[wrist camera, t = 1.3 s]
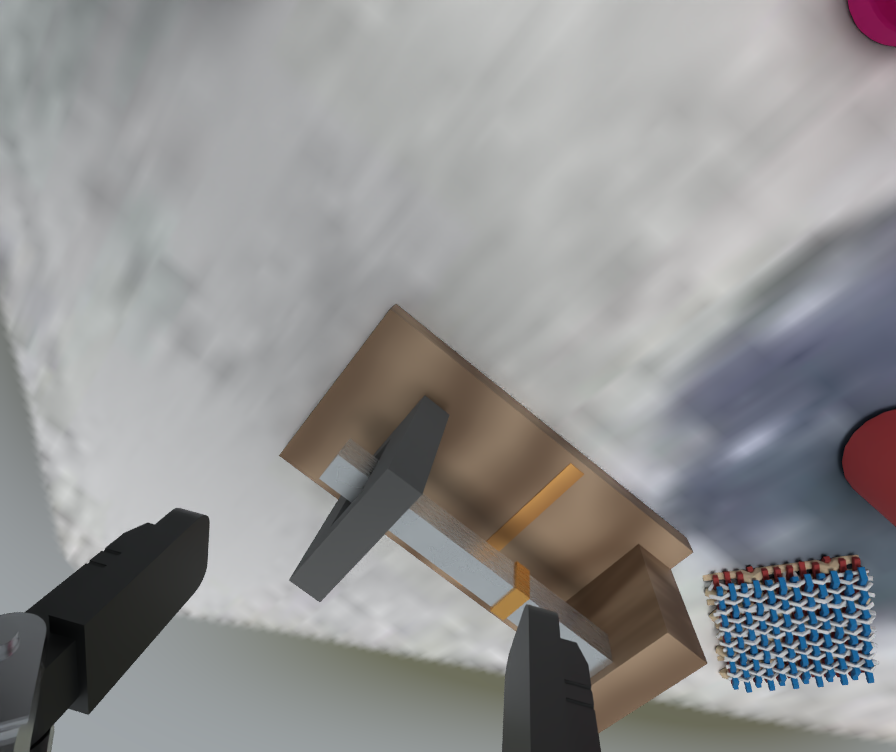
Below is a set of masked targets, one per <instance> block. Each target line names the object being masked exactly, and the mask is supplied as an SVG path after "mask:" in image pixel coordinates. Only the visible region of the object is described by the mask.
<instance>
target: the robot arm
mask: <svg viewBox="0 0 896 752" xmlns="http://www.w3.org/2000/svg"><path fill="white" fill-rule="evenodd" d="M209 524H210V523H209V518H208V516H206V515H203V514H199V513H196V512H192V511H188V510H185V509H181V508H175V509H173V510H172V511H171V512H169V513H168V514H167V515H166V516H165V517H163V518H162V519H161V520H160V521H159V522H158V523H156V524H155V525H154V524H151V523H146V524H143V525H141V526H139V527H137V528H134V529H132V530H130V531H128V532H125V533H123V534H122V535H121V536H120V537H118V538H117V539H116V540H115V541H113V542H112V543H111V544H110V545H108V546H107V547H106V548H105V550H104V551H101V552H100V553H98V554H97V555H96V556H95V557H93V558H92V559H91V560H90V562H89V563H88V564H85V565H83V566H82V567H81V568H80V569H78V570H77V571H76V572H75V573H73V574H72V575H71V576H70V577H69V578H67V579H66V580H65V581H63V582H62V583H61V584H60V585H59V586H57V587H56V588H55V589H53V590H52V591H51V592H50V593H48V594H47V595H46V596H45V597H43V598H42V599H41V600H40V601H38V602H37V603H36V604H35V605H33V606H32V607H31V608H30V609H28V610H27V611H26V612H24V613H23V612H16V613H15V612H14V613H7V614H3V615H0V752H51V750H52V743H53V737H54V723H55V722H56V721H57V720H58V719H59V718H60V717H61V716H62V715H63V713H64V712H65V711H66V710H67V709H72V710H75V711H79V712H81V713H85V714H90V713H91V711H92V710H93V709H94V708H95V707H96V706H97V705H98V703H99V702H100V701H101V700H102V699H103V698H104V696H105V695H106V694H107V693H108V692H109V690H111V688H112V687H113V686H114V685H115V684H116V683H117V681H118V680H119V679H120V678H121V677H122V676H123V675H124V673H125V672H126V671H127V670H128V669H129V668H130V666H131V665H132V664H133V663H134V662H135V661H136V660H137V658H138V657H139V656H140V655H141V654H142V653H143V652H144V650H145V649H146V648H147V647H148V646H149V644H150V643H151V642H152V641H153V640H154V639H155V638H156V636H157V635H158V634H159V633H160V632H161V631H162V630H163V628H164V627H165V626H166V625H167V624H168V623H169V621H170V620H171V619H172V618H173V617H174V616H175V615H176V613H177V612H178V611H179V610H180V609H181V608H182V607H183V605H184V604H185V603H186V602H187V601H188V600H189V598H190V597H191V596H192V595H193V594H194V593H195V591H196V590H197V589H198V587H199V586H200V584H201V582H202V580H203V578H204V575H205V572H206V569H207V560H208V542H209ZM591 687H592V686H591V680H590V673H589V666H588V663H587V661H586V659H585V657H584V655H583V654H582V652H581V650H580V648H579V646H578V644H577V642H573V641H569V640H566V639H562V638H560V626H559V616H558V613H557V612H554V611H550V610H547V609H543V608H539V607H536V606H532V605H528V604H526V605H525V607H524V610H523V612H522V616H521V619H520V622H519V625H518V628H517V631H516V634H515V637H514V640H513V643H512V646H511V649H510V653H509V657H508V661H507V667H506V674H505V692H504V718H503V743H502V752H601V748H600V742H599V735H598V728H597V721H596V714H595V710H594V700H593V693H592V691H591Z"/></svg>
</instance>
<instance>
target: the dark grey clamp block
mask: <svg viewBox="0 0 896 752" xmlns="http://www.w3.org/2000/svg"><path fill="white" fill-rule="evenodd" d="M448 418H449V414H448V413H447V412H446V411H444V410H443V409H442V408H440V407H439V406H438V405H437V404H435V403H434V402H433V401H432V400H430V399H429V398H428V397H426V396H425V395H424V396H423V398H422V399H421V400H420V401H419V402H418V403H417V405H416V406H415V407H414V408H413V409H412V410H411V412H410V413H409V414H408V415H407V416H406V417H405V419H404V420H403V421H402V422H401V423H400V424H399V426H398V427H397V428H396V429H395V430H394V431H393V433H392V434H391V435H390V436H389V437H388V438H387V440H386V441H385V442H384V443H383V444H382V445H381V447H380V448H379V449H378V450H377V451H376V452H375V454H374V455H373V456H374V457H375V458H377V459H378V460H379V461H378V463H377V465H376V466H375V468H374V470H373V472H372V474H371V475H370V477H369V479H368V481H367V483H366V485H365V486H364V488H363V490H362V492H361V493H360V494H359V495H358V496H357V497H356V499H355V500H354V501H353V502H352V503H351V502H350V501H348V500H347V499H346V498H344V497H343V496H342V495H341V496H340V498H339V499H338V501H337V503H336V504H335V506H334V507H333V509H332V511H331V512H330V514H329V516H328V517H327V519H326V521H325V522H324V524H323V525H322V527H321V529H320V530H319V532H318V534H317V535H316V537H315V539H314V540H313V542H312V543H311V545H310V547H309V548H308V550H307V552H306V553H305V555H304V556H303V558H302V560H301V561H300V563H299V565H298V566H297V568H296V570H295V571H294V573H293V574H292V576H291V578H290V579H289V581H291V582H292V583H294V584H295V585H296V586H298V587H299V588H301V589H302V590H303V591H305V592H306V593H308V594H309V595H310V596H312V597H313V598H315V599H316V600H317V601H319V602H321V601H322V600H323V599H324V598H325V597H326V595H327V594H328V593H329V592H330V591H331V590H332V589H333V588H334V587H335V586H336V585H337V584H338V583H339V582H340V581H341V580H342V579H343V578H344V576H345V575H346V574H347V573H348V572H349V571H350V570H351V569H352V568H353V567H354V566H355V565H356V564H357V563H358V562H359V561H360V560H361V559H362V558H363V556H364V555H365V554H366V553H367V552H368V551H369V550H370V549H371V548H372V547H373V546H374V545H375V544H376V543H377V542H378V541H379V540H380V539H381V538H382V536H383V535H384V534H385V533H386V532H387V531H388V530H389V529H390V528H391V527H392V526H393V525H394V524H395V523H396V522H397V521H398V520H399V519H400V518H401V516H402V515H403V514H404V513H405V512H406V511H407V510H408V509H409V508H410V507H411V506H412V505H413V504H414V503H415V502H416V501H417V500H418V499H419V498H420V496H421V495H422V494H423V491H424V488H425V485H426V482H427V479H428V477H429V474H430V471H431V468H432V465H433V462H434V459H435V456H436V453H437V450H438V447H439V444H440V441H441V439H442V436H443V433H444V430H445V427H446V424H447V421H448Z"/></svg>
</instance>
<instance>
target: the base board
mask: <svg viewBox="0 0 896 752" xmlns="http://www.w3.org/2000/svg"><path fill="white" fill-rule="evenodd" d="M424 395H425V396H426V397H428V398H429V399H430V400H432V401H433V402H434V403H435V404H437V405H438V406H439V407H440V408H442V409H443V410H444V411H446V412H447V413H448V414H449V418H448V421H447V424H446V427H445V430H444V433H443V436H442V439H441V441H440V444H439V447H438V450H437V453H436V456H435V459H434V462H433V465H432V468H431V471H430V474H429V477H428V479H427V482H426V485H425V488H424V491H423V494H424V495H425V496H427V497H428V498H429V499H431V500H432V501H433V502H435V503H436V504H437V505H439V506H440V507H441V508H442V509H444V510H445V511H446V512H448V513H449V514H450V515H452V516H453V517H454V518H456V519H457V520H458V521H460V522H461V523H462V524H464V525H465V526H466V527H467V528H469V529H470V530H471V531H473V532H474V533H475V534H477V535H478V536H479V537H481V538H482V539H483V540H485V541H486V542H487V543H488V544H490V545H491V546H492V547H494V548H495V549H496V550H498V551H499V552H500V553H502V554H503V555H504V556H506V557H507V558H508V559H510V560H511V561H512V562H513V563H515V562H516V561H518V562H519V563H521V564H522V565H523V566H524V567H526V568H527V569H528V570H530V575H531V576H532V577H533V578H534V579H536V580H537V581H538V582H540V583H541V584H542V585H544V586H545V587H546V588H548V589H549V590H550V591H552V592H553V593H554V594H556V595H557V596H558V597H559V598H561V599H562V600H563V601H565V602H566V603H567V604H569V605H570V606H571V607H573V608H574V609H575V610H577V611H578V612H579V613H580V614H582V615H583V616H584V617H586V618H587V619H588V620H590V621H591V622H592V623H594V624H595V625H596V626H598V627H599V628H600V629H601V630H603V631H604V632H605V633H607V634H608V639H609V644H610V649H611V655H612V660H613V662H612V663H611V664H610V665H608V666H607V667H605V668H604V669H602V670H601V671H600V672H598V673H597V674H595V675H594V676H592V677H591V678H590V680H591V686H592V687H591V691H592V693H593V700H594V710H595V714H596V721H597V728H598V733H600V732H601V731H603V730H605V729H606V728H608V727H609V726H611V725H612V724H614V723H615V722H617V721H618V720H620V719H622V718H623V717H625V716H626V715H628V714H630V713H631V712H633V711H634V710H636V709H637V708H639V707H640V706H642V705H644V704H645V703H647V702H648V701H650V700H651V699H653V698H654V697H656V696H658V695H659V694H661V693H662V692H664V691H665V690H667V689H669V688H670V687H672V686H673V685H675V684H676V683H678V682H679V681H681V680H683V679H684V678H686V677H687V676H689V675H690V674H692V673H694V672H695V671H697V670H698V669H700V668H701V667H703V666H704V665H706V664H707V661H706V658H705V656H704V653H703V651H702V648H701V646H700V643H699V640H698V638H697V635H696V633H695V630H694V628H693V625H692V623H691V620H690V617H689V615H688V612H687V610H686V607H685V605H684V602H683V600H682V597H681V594H680V592H679V589H678V587H677V584H676V582H675V579H674V576H673V574H672V571H671V569H672V568H673V567H674V566H676V565H677V564H678V563H680V562H681V561H682V560H684V559H685V558H686V557H688V556H689V555H690V554H692V553H693V550H692V548H691V546H690V544H689V542H688V540H687V538H686V537H685V536H683V535H682V534H681V533H680V532H678V531H677V530H676V529H675V528H674V527H672V526H671V525H670V524H669V523H667V522H666V521H665V520H664V519H662V518H661V517H660V516H659V515H657V514H656V513H655V512H654V511H652V510H651V509H650V508H649V507H647V506H646V505H645V504H644V503H642V502H641V501H640V500H639V499H638V498H636V497H635V496H634V495H633V494H631V493H630V492H629V491H628V490H626V489H625V488H624V487H623V486H621V485H620V484H619V483H618V482H616V481H615V480H614V479H613V478H611V477H610V476H609V475H608V474H607V473H605V472H604V471H603V470H602V469H600V468H599V467H598V466H597V465H595V464H594V463H593V462H592V461H590V460H589V459H588V458H587V457H585V456H584V455H583V454H582V453H580V452H579V451H578V450H577V449H575V448H574V447H573V446H572V445H571V444H569V443H568V442H567V441H566V440H564V439H563V438H562V437H561V436H559V435H558V434H557V433H556V432H554V431H553V430H552V429H551V428H549V427H548V426H547V425H546V424H544V423H543V422H542V421H541V420H539V419H538V418H537V417H536V416H535V415H533V414H532V413H531V412H530V411H528V410H527V409H526V408H525V407H523V406H522V405H521V404H520V403H518V402H517V401H516V400H515V399H513V398H512V397H511V396H510V395H508V394H507V393H506V392H505V391H504V390H502V389H501V388H500V387H499V386H497V385H496V384H495V383H494V382H492V381H491V380H490V379H489V378H487V377H486V376H485V375H484V374H482V373H481V372H480V371H479V370H477V369H476V368H475V367H474V366H472V365H471V364H470V363H469V362H468V361H466V360H465V359H464V358H463V357H461V356H460V355H459V354H458V353H456V352H455V351H454V350H453V349H451V348H450V347H449V346H448V345H446V344H445V343H444V342H443V341H441V340H440V339H439V338H438V337H436V336H435V335H434V334H433V333H432V332H430V331H429V330H428V329H427V328H425V327H424V326H423V325H422V324H420V323H419V322H418V321H417V320H415V319H414V318H413V317H412V316H410V315H409V314H408V313H407V312H405V311H404V310H403V309H402V308H401V307H399V306H398V305H397V304H395V305H394V306H393V307H392V308H391V309H390V310H389V311H388V312H387V314H386V315H385V316H384V318H383V319H382V320H381V322H380V323H379V324H378V326H377V327H376V328H375V330H374V331H373V332H372V334H371V335H370V336H369V338H368V339H367V340H366V342H365V343H364V344H363V346H362V347H361V348H360V349H359V351H358V352H357V353H356V355H355V356H354V357H353V359H352V360H351V361H350V363H349V364H348V365H347V367H346V368H345V369H344V371H343V372H342V373H341V375H340V376H339V377H338V379H337V380H336V381H335V382H334V384H333V385H332V386H331V388H330V389H329V390H328V392H327V393H326V394H325V396H324V397H323V398H322V400H321V401H320V402H319V404H318V405H317V406H316V408H315V409H314V410H313V412H312V413H311V414H310V415H309V417H308V418H307V419H306V421H305V422H304V423H303V425H302V426H301V427H300V429H299V430H298V431H297V433H296V434H295V435H294V437H293V438H292V439H291V441H290V442H289V443H288V445H287V446H286V447H285V449H284V450H283V451H282V452H281V454H280V455H279V456H280V457H282V458H283V459H284V460H286V461H287V462H288V463H290V464H291V465H292V466H294V467H295V468H297V469H298V470H299V471H301V472H302V473H303V474H305V475H306V476H307V477H309V478H310V479H311V480H313V481H314V482H315V483H317V484H318V485H319V486H321V487H322V488H323V489H325V490H326V491H327V492H329V493H330V494H332V495H333V496H334V497H336V498H337V499H339V498H340V496H341V495H340V494H339V493H338V492H336V491H335V490H334V489H332V488H331V487H330V486H328V485H327V484H326V483H324V482H323V481H322V480H320V479H319V478H320V477H321V475H322V474H323V472H324V471H325V470H326V468H327V467H328V466H329V464H330V463H331V461H332V460H333V459H334V458H335V456H336V455H337V454H338V453H339V452H340V450H341V449H342V448H343V447H344V445H345V444H346V443H347V442H348V441H349V439H352V440H353V441H354V442H356V443H357V444H358V445H360V446H361V447H362V448H364V449H365V450H366V451H368V452H369V453H370V454H372V455H374V454H375V452H376V451H377V450H378V449H379V448H380V447H381V445H382V444H383V443H384V442H385V441H386V440H387V438H388V437H389V436H390V435H391V434H392V433H393V431H394V430H395V429H396V428H397V427H398V426H399V424H400V423H401V422H402V421H403V420H404V419H405V417H406V416H407V415H408V414H409V413H410V412H411V410H412V409H413V408H414V407H415V406H416V405H417V403H418V402H419V401H420V400H421V399H422V398H423V396H424ZM385 535H387V536H388V537H389V538H391V539H392V540H393V541H395V542H396V543H398V544H399V545H400V546H402V547H403V548H404V549H406V550H407V551H408V552H410V553H411V554H412V555H414V556H415V557H416V558H418V559H419V560H420V561H422V562H423V563H424V564H426V565H427V566H428V567H430V568H431V569H433V570H434V571H435V572H437V573H438V574H439V575H441V576H442V577H443V578H445V579H446V580H447V581H449V582H450V583H451V584H453V585H454V586H455V587H457V588H458V589H459V590H461V591H462V592H464V593H465V594H466V595H468V596H469V597H470V598H472V599H473V600H474V601H476V602H477V603H478V604H480V605H481V606H482V607H484V608H485V609H486V610H488V611H489V612H490V613H492V614H493V615H494V616H496V617H497V618H499V617H498V616H497V615H495V614H494V613H493V612H491V611H490V607H491V606H489V605H488V604H487V603H485V602H484V601H483V600H481V599H480V598H479V597H477V596H476V595H475V594H473V593H472V592H471V591H469V590H468V589H467V588H465V587H464V586H463V585H461V584H460V583H459V582H457V581H456V580H455V579H453V578H452V577H451V576H449V575H448V574H447V573H445V572H444V571H442V570H441V569H440V568H438V567H437V566H436V565H434V564H433V563H432V562H430V561H429V560H428V559H426V558H425V557H424V556H422V555H421V554H420V553H418V552H417V551H416V550H414V549H413V548H412V547H410V546H409V545H408V544H406V543H405V542H404V541H402V540H401V539H399V538H398V537H397V536H395V535H394V534H393V533H391V532H390V531H389V530H388V531H387V532H386V533H385ZM499 619H500V620H501V621H503V622H504V623H505V624H507V625H508V626H509V627H511V628H512V629H513V630H515V631H517V628H518V626H516V625H515V624H514V623H512V622H511V621H510V620H508V619H507V618H506V619H505V620H502V619H501V618H499Z"/></svg>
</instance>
